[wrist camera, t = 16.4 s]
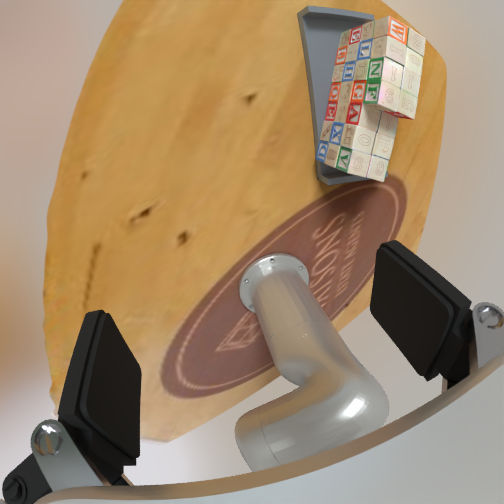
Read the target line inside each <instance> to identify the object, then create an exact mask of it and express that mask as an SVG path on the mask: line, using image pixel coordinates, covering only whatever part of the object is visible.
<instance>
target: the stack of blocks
mask: <svg viewBox="0 0 504 504" xmlns="http://www.w3.org/2000/svg"><path fill="white" fill-rule="evenodd" d="M424 50H425V38H424V37H423V36H421V35H420V34H418V33H417V32H415V31H414V30H413V29H411V28H408V27H407V26H406V25H405V24H403V23H401V22H400V21H398V20H396V19H394V18H393V17H391V16H387V17H384V18H381V19H378V20H374V21H372V22H368V23H365V24H363V25H361V26H358V27H356V28H353V29H349V30H347V31H345V32H342V33H341V37H340V43H339V48H338V51H337V56H336V61H335V67H334V71H333V76H332V85H331V91H330V95H329V100H328V101H329V102H328V106H327V111H326V116H325V121H324V122H323V127H322V131H321V136H320V141H319V145H318V150H317V154H316V160H318V161H320V162H323V163H325V164H327V165H329V166H331V167H334V168H337V169H339V170H341V171H344V172H346V173H350V174H354V175H358V176H362V177H367V178H371V179H374V180H378V181H382V182H384V179H385V175H386V171H387V167H388V160H390V156H391V152H392V148H393V143H394V138H395V135H396V130H397V124H398V117H399V118H406V119H412V120H414V117H415V112H416V106H417V100H418V98H417V97H418V93H419V85H420V77H421V73H422V65H423V56H424Z"/></svg>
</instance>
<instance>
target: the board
mask: <svg viewBox="0 0 504 504" xmlns="http://www.w3.org/2000/svg"><path fill="white" fill-rule="evenodd" d="M297 15H298V20H299V26H300V32H301V38H302V44H303V50H304V57H305V64H306V71H307V78H308V86H309V94H310V103H311V112H312V121H313V131H314V143H315V155H316V154H317V150H318V145H319V141H320V136H321V131H322V127H323V122H324V121H325V116H326V111H327V106H328V102H329V101H328V100H329V95H330V91H331V85H332V76H333V71H334V67H335V61H336V56H337V51H338V48H339V43H340V37H341V33H342V32H345V31H347V30H349V29H353V28H356V27H358V26H361V25H363V24H365V23H368V22H371V21H374V15H371V14H366V13H361V12H355V11H349V10H342V9H335V8H326V7H316V6H307V7H305V8H304V9H303V10H301V11H300V12H299V13H297ZM316 168H317V179H318V180H320V181H322V182H323V183H325V184H327V185H328V186H329V185H335V184H342V183H348V182H355V181H361V180H368V179H371V178H367V177H362V176H358V175H354V174H350V173H346V172H344V171H341V170H339V169H337V168H334V167H331V166H329V165H327V164H325V163H323V162H320V161H318V160H316ZM385 177H388V171H386V175H385Z"/></svg>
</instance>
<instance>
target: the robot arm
mask: <svg viewBox="0 0 504 504" xmlns="http://www.w3.org/2000/svg"><path fill="white" fill-rule="evenodd" d="M308 285H309V274H308V271H307V269H306V267H305V266H304V264H303V263H302V262H301V261H300V260H299V259H298V258H296V257H295V256H292V255H290V254H285V253H275V254H269V255H266V256H264V257H261V258H260V259H258V260H256V261H255V262H253V263H252V264H251V265H250V266H249V267H248V268H247V269H246V270H245V272H244V273H243V275H242V277H241V280H240V284H239V294H240V297H241V300H242V302H243V304H244V305H245V306H246V308H248V309H249V310H250V311H252V312H254V313H256V315H257V318H258V321H259V323H260V326H261V329H262V332H263V334H264V337H265V340H266V343H267V345H268V348H269V351H270V353H271V356H272V359H273V362H274V364H275V366H276V368H277V370H278V371H279V373H280V374H281V375H282V376H283V377H284V378H285V379H287V380H288V381H290V382H292V383H294V384H296V385H298V386H300V387H299V388H297V389H295V390H293V391H292V392H290V393H288V394H286V395H283V396H281V397H279V398H277V399H275V400H273V401H270V402H268V403H266V404H263V405H261V406H259V407H257V408H255V409H253V410H250V411H248V412H247V413H245V414H244V415H242V416H241V417H240V418H239V420H238V421H237V423H236V426H235V438H236V442H237V445H238V448H239V449H240V452H241V454H242V456H243V458H244V460H245V461H246V463H247V464H248V466H249V467H250V469H251V470H252V472H251V473H247V474H242V475H236V476H231V477H225V478H219V479H213V480H206V481H198V482H188V483H178V484H165V485H144V486H134V485H133V484H132V482H131V481H130V480H129V479H128V478H127V477H126V476H125V475H124V474H123V473H124V472H123V466H133V465H134V466H135V465H136V458H138V457H139V456H140V396H141V376H142V374H141V368H140V366H139V364H138V362H137V361H136V359H135V357H134V356H133V354H132V352H131V351H130V349H129V347H128V346H127V344H126V342H125V340H124V339H123V337H122V335H121V333H120V331H119V330H118V328H117V326H116V324H115V322H114V320H113V319H112V317H111V315H110V314H109V313H105V312H104V311H103V310H97V311H92V312H88V313H86V315H85V318H84V321H83V324H82V326H81V329H80V332H79V335H78V339H77V342H76V345H75V348H74V351H73V355H72V358H71V362H70V365H69V369H68V372H67V376H66V380H65V384H64V388H63V392H62V396H61V400H60V405H59V409H58V415H59V417H58V421H57V420H52V419H49V420H45V421H43V422H41V423H40V424H39V425H38V426H37V427H36V428H35V430H34V431H33V433H32V436H31V448H32V452H33V453H32V454H31V455H29V456H28V457H27V458H26V459H25V460H24V461H23V462H22V463H21V464H19V465H18V466H17V467H16V468H15V469H14V470H13V471H12V472H11V473H9V474H8V476H7V477H6V478H5V480H4V482H3V487H2V491H3V497H4V499H5V501H4V500H2V499H1V500H0V504H504V312H503V311H502V310H501V309H500V308H499V307H498V306H496V305H494V304H491V303H488V302H482V303H479V304H477V305H476V306H475V307H474V309H473V311H472V310H471V309H469V308H470V305H471V301H470V300H469V299H468V298H467V297H466V296H465V295H463V294H462V293H461V292H460V291H459V290H458V289H457V288H456V287H454V286H453V285H452V284H451V283H450V282H448V281H447V280H446V279H445V278H444V277H443V276H441V275H440V274H439V273H438V272H437V271H435V270H434V269H433V268H431V267H430V266H429V265H428V264H427V263H425V262H424V261H423V260H422V259H420V258H419V257H418V256H417V255H415V254H414V253H413V252H411V251H410V250H409V249H407V248H406V247H405V246H404V245H402V244H401V243H400V242H398V241H396V240H393V241H389V242H386V243H382V244H381V245H380V248H379V249H378V250H377V253H376V263H375V272H374V280H373V288H372V295H371V302H370V311H371V314H372V315H373V317H374V318H375V319H376V320H377V322H378V323H379V324H380V325H381V327H382V328H383V329H384V330H385V332H386V333H387V334H388V335H389V337H390V338H391V339H392V341H393V342H394V343H395V344H396V346H397V347H398V348H399V349H400V351H401V352H402V353H403V355H404V356H405V357H406V358H407V360H408V361H409V362H410V364H411V365H412V366H413V368H414V369H415V370H416V372H417V373H418V374H419V375H420V376H424V378H425V379H426V380H427V381H429V380H431V379H433V378H435V377H436V376H437V375H438V374H439V373H440V374H441V375H442V376H443V380H442V394H441V395H439V396H438V397H436V398H434V399H433V400H431V401H429V402H428V403H426V404H424V405H423V406H421V407H419V408H418V409H416V410H414V411H413V412H411V413H409V414H407V415H405V416H403V417H401V418H400V419H398V420H396V421H394V422H392V423H390V424H388V425H386V426H384V427H382V425H383V424H384V422H385V421H386V419H387V417H388V414H389V401H388V398H387V395H386V393H385V391H384V390H383V388H382V386H381V385H380V384H379V383H378V381H377V380H376V379H375V378H374V377H373V376H372V375H371V374H370V373H369V372H368V370H367V369H366V368H365V367H364V366H363V365H362V364H361V363H360V362H359V361H358V360H357V358H356V357H355V356H354V355H353V354H352V353H351V351H350V350H349V348H348V347H347V345H346V344H345V343H344V341H343V340H342V338H341V337H340V335H339V334H338V332H337V330H336V329H335V327H334V326H333V324H332V323H331V321H330V320H329V318H328V317H327V315H326V313H325V312H324V310H323V309H322V307H321V306H320V304H319V303H318V301H317V300H316V298H315V297H314V295H313V294H312V292H311V291H310V289H309V288H308ZM381 427H382V428H381Z"/></svg>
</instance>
